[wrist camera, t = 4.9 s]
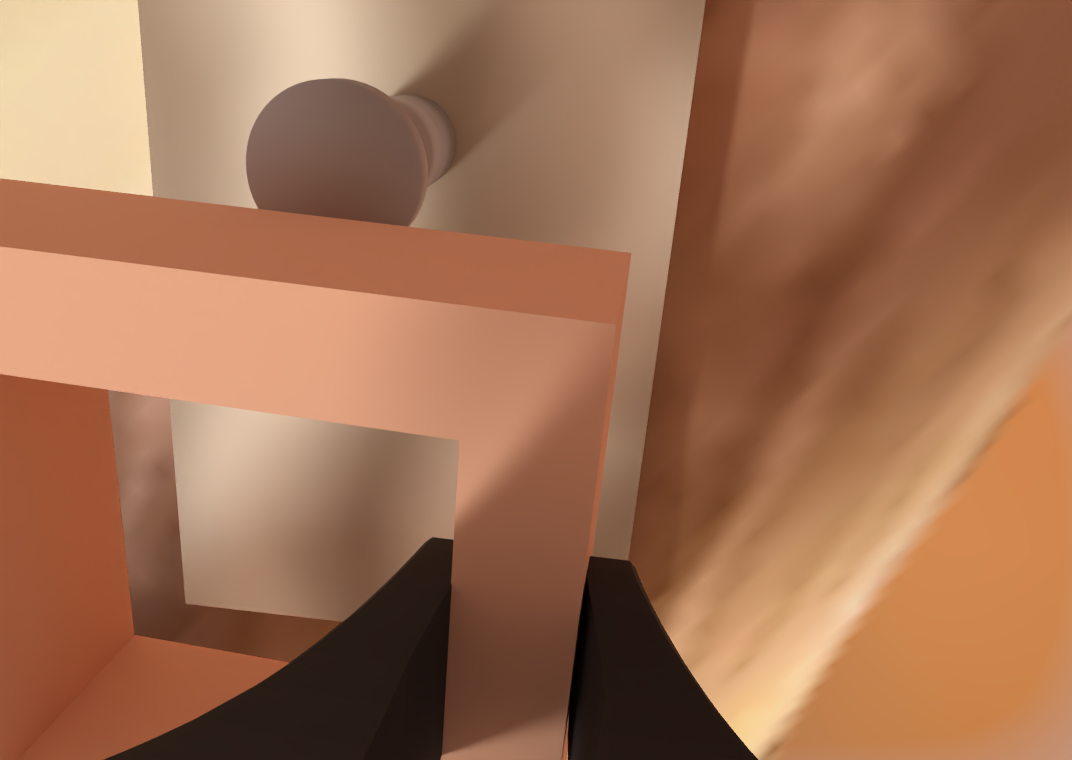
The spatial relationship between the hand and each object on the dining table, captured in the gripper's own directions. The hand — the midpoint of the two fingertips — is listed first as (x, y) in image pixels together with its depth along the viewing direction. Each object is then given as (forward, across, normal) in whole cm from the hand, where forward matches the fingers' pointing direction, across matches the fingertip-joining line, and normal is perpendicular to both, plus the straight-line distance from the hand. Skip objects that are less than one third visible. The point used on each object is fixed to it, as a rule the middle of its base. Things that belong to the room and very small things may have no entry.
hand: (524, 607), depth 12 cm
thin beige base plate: (+10, +4, -2) cm, 11 cm away
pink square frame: (+2, +4, 0) cm, 5 cm away
